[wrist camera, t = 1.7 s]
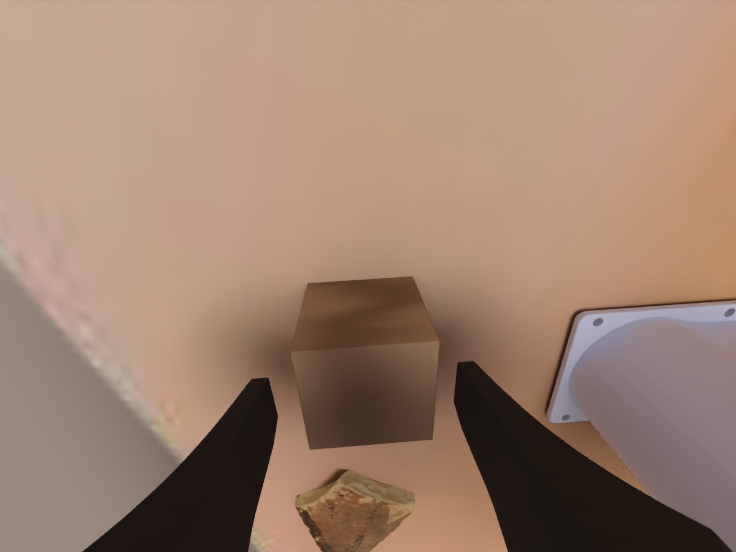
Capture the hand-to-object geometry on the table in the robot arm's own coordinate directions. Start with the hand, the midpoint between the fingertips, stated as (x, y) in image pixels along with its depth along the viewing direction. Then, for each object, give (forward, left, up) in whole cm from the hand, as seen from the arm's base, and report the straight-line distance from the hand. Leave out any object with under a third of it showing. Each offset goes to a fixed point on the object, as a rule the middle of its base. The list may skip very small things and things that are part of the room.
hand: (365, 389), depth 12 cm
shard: (+1, +17, -5) cm, 18 cm away
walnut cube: (0, 0, -5) cm, 5 cm away
